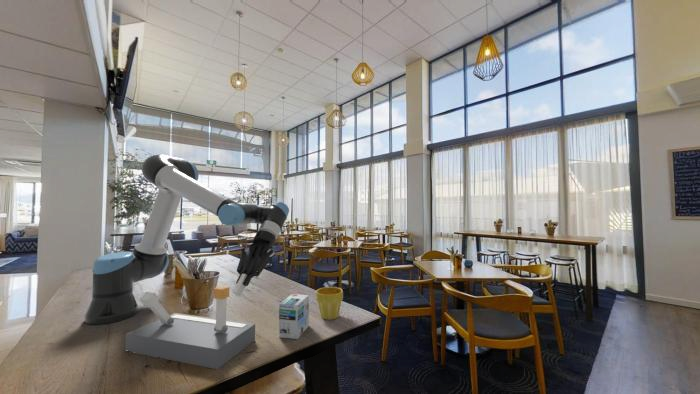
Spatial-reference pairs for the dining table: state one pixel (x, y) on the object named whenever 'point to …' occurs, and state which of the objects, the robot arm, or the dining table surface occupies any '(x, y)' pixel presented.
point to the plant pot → (329, 301)
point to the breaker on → (156, 307)
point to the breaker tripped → (221, 308)
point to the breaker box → (191, 340)
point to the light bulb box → (293, 316)
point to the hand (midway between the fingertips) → (236, 294)
